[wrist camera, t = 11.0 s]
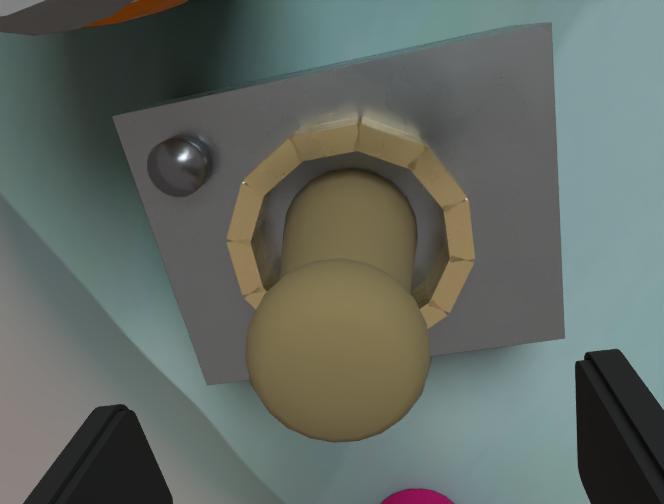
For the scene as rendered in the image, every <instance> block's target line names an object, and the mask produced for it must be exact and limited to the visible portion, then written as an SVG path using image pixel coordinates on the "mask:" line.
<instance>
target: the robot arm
mask: <svg viewBox="0 0 664 504" xmlns="http://www.w3.org/2000/svg"><path fill="white" fill-rule="evenodd" d="M575 380H576V417H577V453H578V469H579V474H580V478H581V481H582V484H583V486H584V489H585V491H586V493H587V496H588V498H589V500H590V502H591V504H664V410H663V409H662V407H661V406H660V404H659V403H658V402H657V400H656V399H655V398H654V396H653V395H652V393H651V392H650V391H649V389H648V388H647V387H646V385H645V384H644V382H643V381H642V380H641V378H640V377H639V376H638V374H637V373H636V371H635V370H634V369H633V367H632V366H631V365H630V363H629V362H628V360H627V359H626V358H625V356H624V355H623V354H622V352H621V351H620V350H618V349H611V350H602V351H593V352H587V353H585V356H584V360H582V361H577V362H576V364H575ZM23 504H173V499H172V496H171V493H170V491H169V488H168V486H167V484H166V482H165V479H164V477H163V475H162V473H161V470H160V468H159V466H158V464H157V462H156V459H155V457H154V455H153V452H152V450H151V448H150V446H149V443H148V441H147V439H146V436H145V434H144V432H143V430H142V427H141V425H140V423H139V421H138V419H137V416H136V414H135V413H134V412H133V411H132V410H129V409H128V408H127V407H126V406H125V405H122V404H118V405H110V406H101V407H97V408H95V409H94V410H93V411H92V413H91V414H90V415H89V416H88V418H87V419H86V420H85V422H84V423H83V425H82V426H81V427H80V429H79V430H78V431H77V432H76V434H75V435H74V436H73V438H72V439H71V440H70V442H69V443H68V444H67V446H66V447H65V449H64V450H63V451H62V452H61V454H60V455H59V456H58V458H57V459H56V460H55V462H54V463H53V464H52V466H51V467H50V468H49V470H48V471H47V473H46V474H45V475H44V476H43V478H42V479H41V480H40V482H39V483H38V485H37V486H36V487H35V488H34V490H33V491H32V492H31V494H30V495H29V496H28V498H27V499H26V500H25V502H24V503H23Z"/></svg>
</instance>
